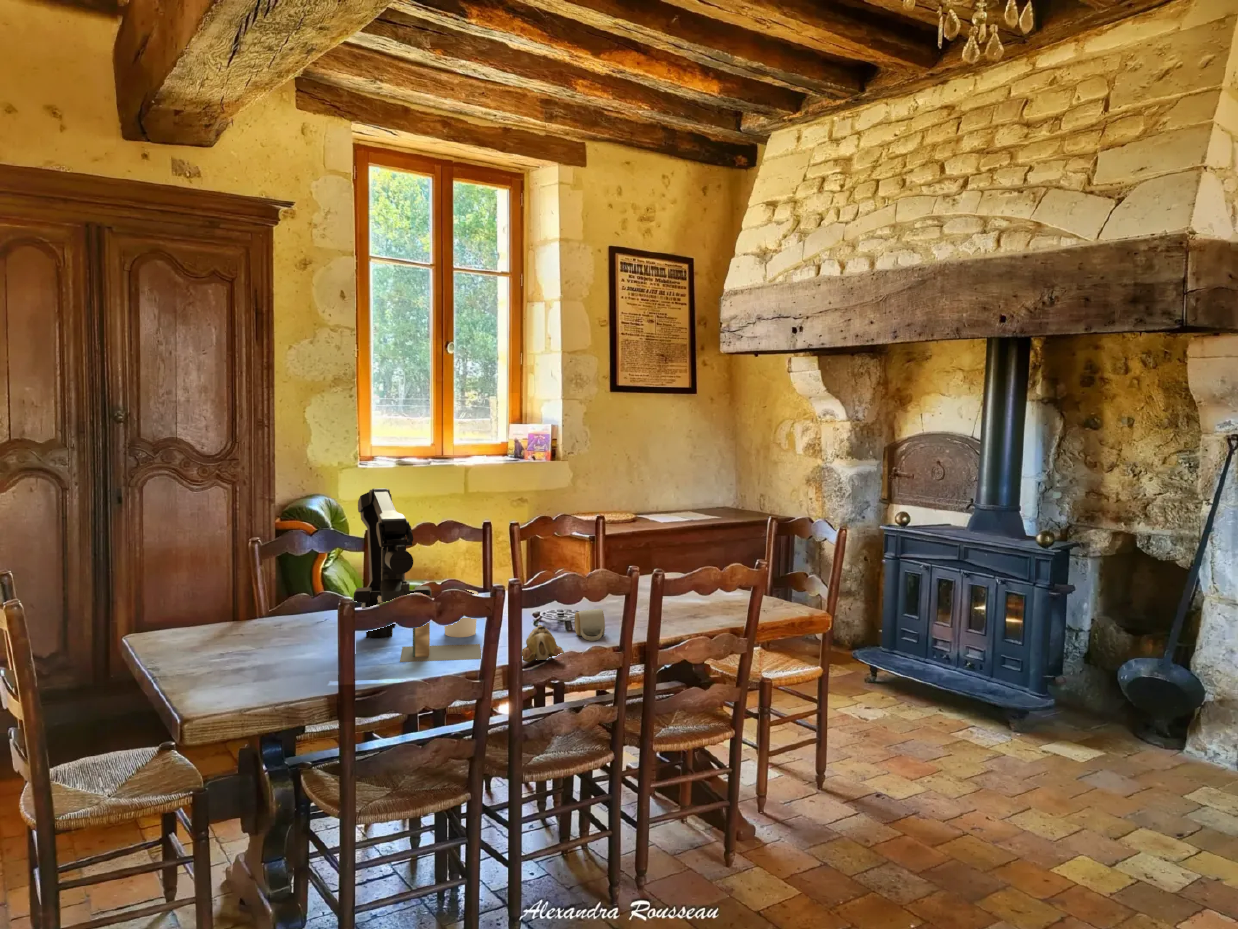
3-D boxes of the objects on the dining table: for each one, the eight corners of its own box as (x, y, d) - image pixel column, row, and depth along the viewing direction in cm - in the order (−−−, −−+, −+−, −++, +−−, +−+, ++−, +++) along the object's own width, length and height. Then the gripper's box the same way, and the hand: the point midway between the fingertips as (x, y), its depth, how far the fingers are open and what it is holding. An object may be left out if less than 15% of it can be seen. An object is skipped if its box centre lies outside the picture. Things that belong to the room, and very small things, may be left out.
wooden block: (412, 657, 224) (412, 617, 224) (413, 650, 230) (413, 612, 230) (429, 656, 225) (429, 617, 224) (429, 649, 231) (429, 611, 230)
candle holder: (482, 632, 253) (482, 590, 252) (473, 641, 243) (473, 597, 242) (448, 631, 254) (448, 589, 253) (437, 640, 244) (437, 596, 243)
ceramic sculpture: (560, 617, 234) (565, 636, 220) (560, 649, 235) (565, 670, 221) (519, 619, 233) (521, 637, 218) (519, 651, 234) (521, 671, 219)
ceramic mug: (573, 632, 254) (573, 607, 253) (600, 631, 256) (600, 606, 255) (579, 642, 244) (580, 616, 243) (607, 641, 246) (608, 615, 245)
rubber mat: (399, 665, 220) (399, 662, 220) (402, 649, 234) (402, 646, 234) (481, 662, 224) (481, 658, 224) (480, 647, 237) (480, 644, 237)
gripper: (351, 573, 215) (351, 637, 216) (430, 572, 219) (430, 635, 220) (355, 565, 226) (356, 626, 227) (431, 564, 230) (431, 624, 231)
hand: (393, 628), depth 226 cm, fingers closed
